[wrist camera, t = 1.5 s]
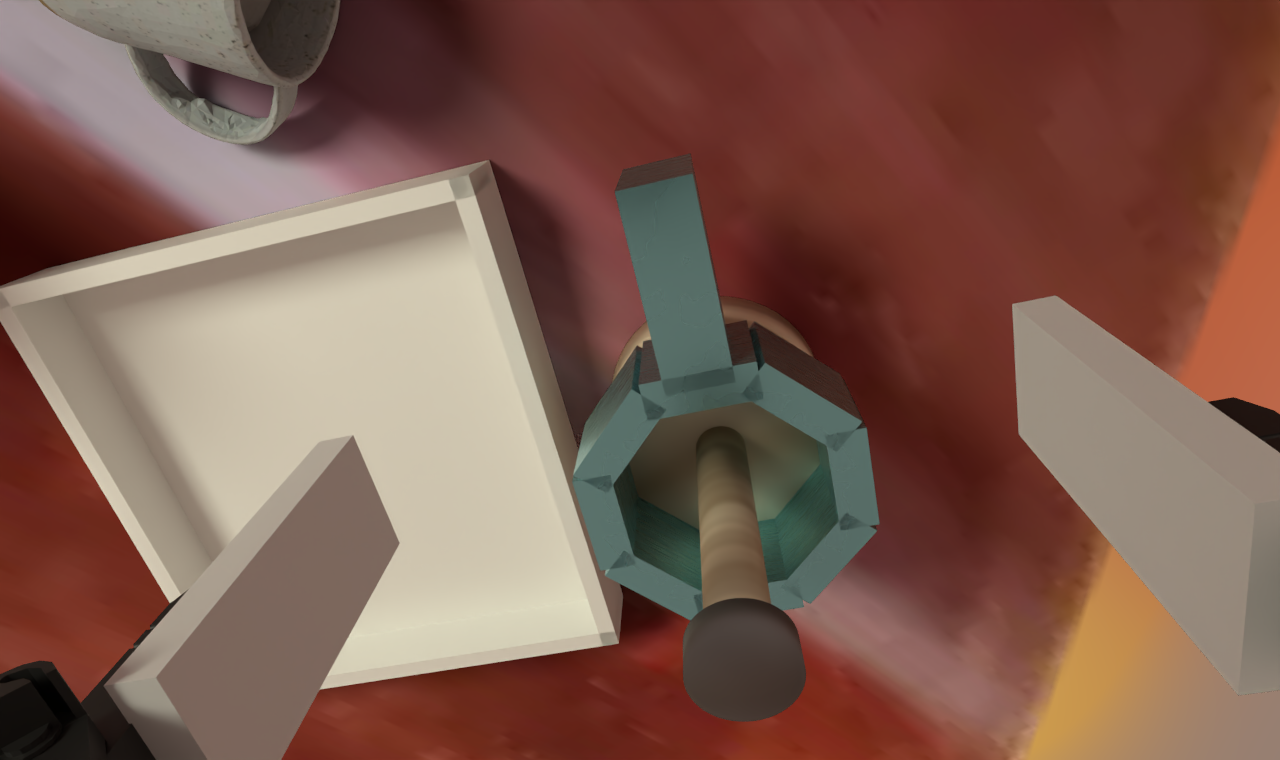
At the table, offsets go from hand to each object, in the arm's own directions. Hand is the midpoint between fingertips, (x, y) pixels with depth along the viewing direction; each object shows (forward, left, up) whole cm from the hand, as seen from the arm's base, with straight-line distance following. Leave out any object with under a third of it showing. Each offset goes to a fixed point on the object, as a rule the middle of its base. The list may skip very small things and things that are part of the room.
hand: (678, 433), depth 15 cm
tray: (+7, -18, -19) cm, 27 cm away
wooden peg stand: (+8, 0, -19) cm, 21 cm away
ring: (+5, 0, -14) cm, 15 cm away
